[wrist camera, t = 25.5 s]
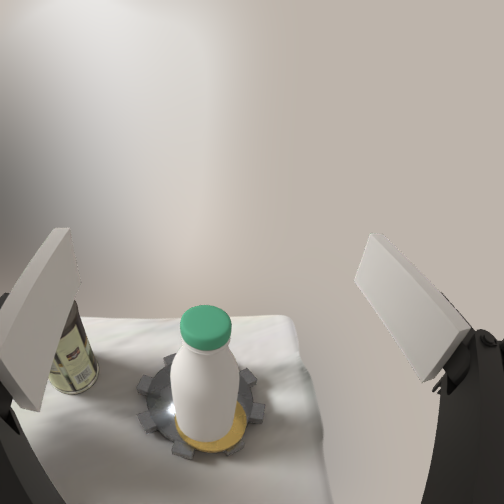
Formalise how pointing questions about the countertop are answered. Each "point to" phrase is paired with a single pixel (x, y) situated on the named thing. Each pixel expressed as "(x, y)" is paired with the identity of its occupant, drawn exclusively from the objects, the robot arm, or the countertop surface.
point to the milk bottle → (205, 375)
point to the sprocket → (166, 422)
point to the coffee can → (73, 358)
